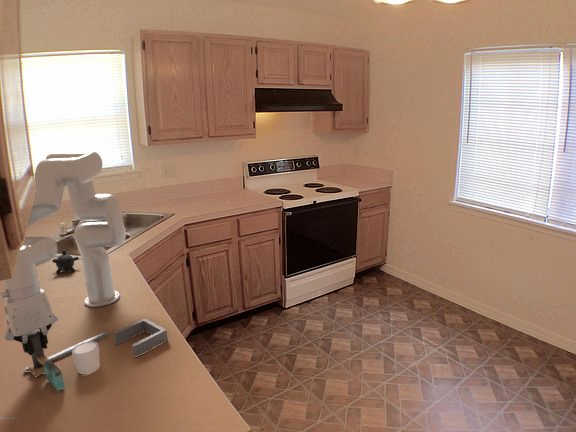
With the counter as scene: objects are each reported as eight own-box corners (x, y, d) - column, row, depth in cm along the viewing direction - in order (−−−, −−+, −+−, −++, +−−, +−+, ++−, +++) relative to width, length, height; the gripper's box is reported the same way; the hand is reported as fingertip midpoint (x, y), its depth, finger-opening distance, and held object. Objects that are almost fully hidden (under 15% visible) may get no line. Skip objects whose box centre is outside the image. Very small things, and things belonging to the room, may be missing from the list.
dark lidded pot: (43, 272, 179) (50, 256, 189) (66, 283, 184) (71, 267, 194) (57, 256, 176) (64, 242, 187) (79, 268, 182) (85, 253, 192)
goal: (114, 344, 126) (112, 332, 125) (146, 328, 134) (144, 318, 133) (135, 358, 119) (134, 346, 117) (167, 341, 127) (166, 329, 126)
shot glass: (73, 379, 110) (68, 357, 108) (78, 364, 116) (74, 343, 115) (100, 374, 112) (96, 352, 110) (104, 359, 118) (100, 339, 116)
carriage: (30, 371, 113) (21, 334, 110) (46, 364, 117) (38, 327, 113) (52, 394, 104) (44, 354, 100) (70, 385, 107) (62, 346, 104)
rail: (24, 371, 114) (23, 368, 113) (105, 334, 132) (105, 331, 131) (26, 373, 113) (25, 370, 113) (107, 336, 131) (107, 332, 130)
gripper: (-8, 306, 99) (7, 370, 103) (61, 283, 111) (72, 341, 116) (-18, 298, 103) (-2, 359, 108) (50, 276, 115) (61, 333, 120)
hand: (36, 349), depth 112 cm, fingers closed on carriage, 3 cm apart
